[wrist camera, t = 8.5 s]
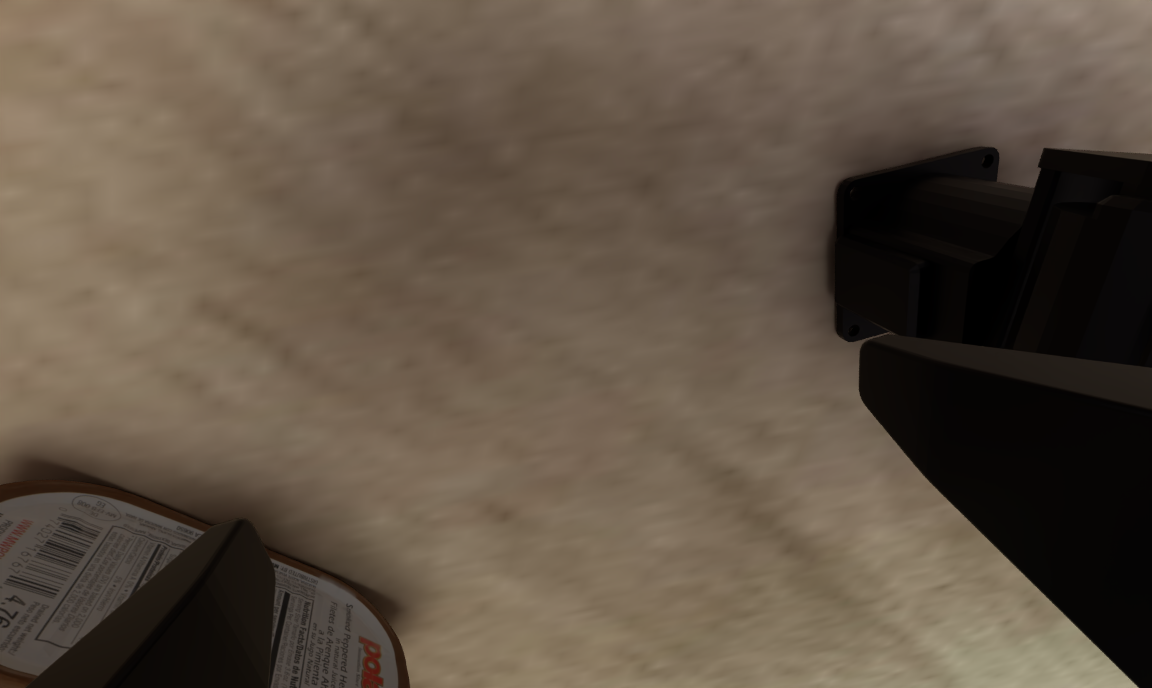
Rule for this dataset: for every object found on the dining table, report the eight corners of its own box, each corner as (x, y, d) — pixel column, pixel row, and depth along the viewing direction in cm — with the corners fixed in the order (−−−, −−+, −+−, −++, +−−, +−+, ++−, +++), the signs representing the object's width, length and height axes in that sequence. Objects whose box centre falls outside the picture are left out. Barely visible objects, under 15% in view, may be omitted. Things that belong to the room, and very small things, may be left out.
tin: (-33, 497, 20) (-310, 752, 12) (14, 424, 19) (-244, 642, 12) (379, 647, 26) (365, 877, 18) (423, 594, 26) (427, 809, 18)
